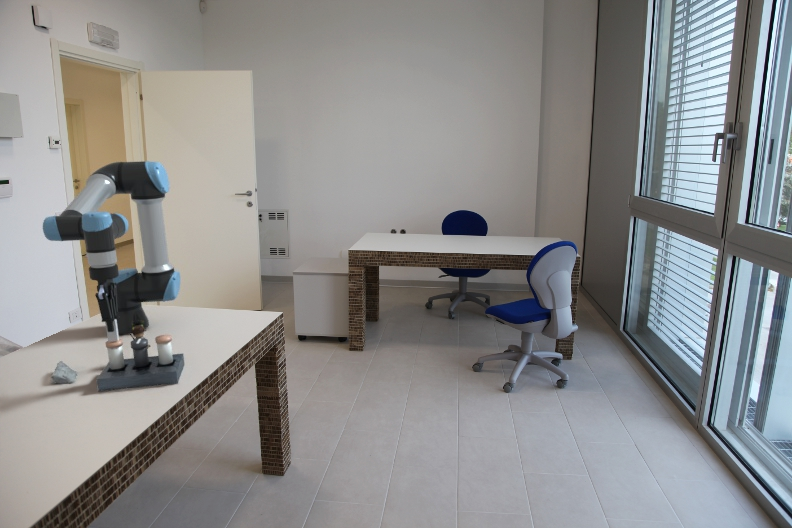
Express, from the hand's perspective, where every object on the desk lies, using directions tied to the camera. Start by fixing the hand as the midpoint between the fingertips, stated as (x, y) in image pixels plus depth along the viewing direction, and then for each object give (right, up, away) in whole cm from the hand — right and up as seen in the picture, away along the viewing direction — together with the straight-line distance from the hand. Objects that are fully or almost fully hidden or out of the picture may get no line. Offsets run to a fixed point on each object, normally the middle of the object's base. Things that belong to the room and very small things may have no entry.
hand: (113, 340), depth 159 cm
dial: (+7, -8, +4) cm, 11 cm away
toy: (+1, -10, +17) cm, 20 cm away
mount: (+7, -12, +5) cm, 15 cm away
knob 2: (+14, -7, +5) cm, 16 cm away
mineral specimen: (-18, -13, +5) cm, 23 cm away
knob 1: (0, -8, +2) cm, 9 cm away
